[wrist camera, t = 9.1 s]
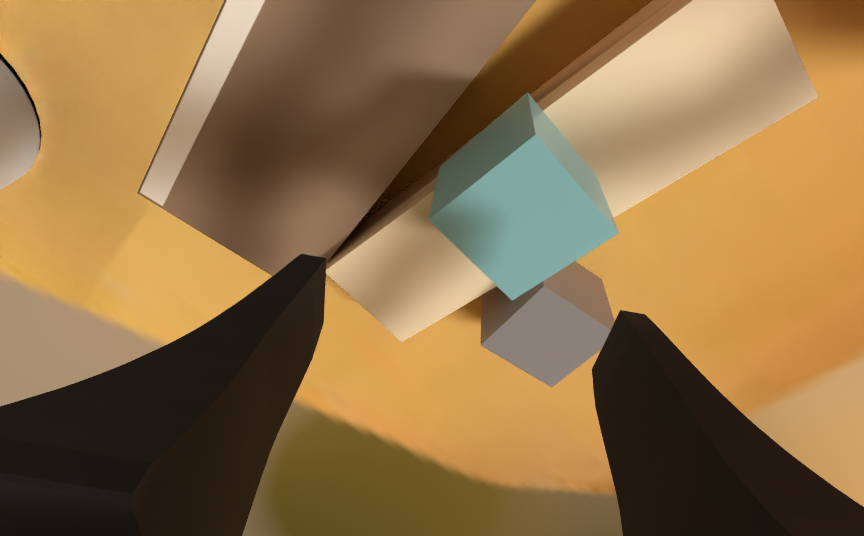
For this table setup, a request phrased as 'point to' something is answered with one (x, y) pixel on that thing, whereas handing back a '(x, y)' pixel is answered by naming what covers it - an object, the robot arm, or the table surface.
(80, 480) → the robot arm
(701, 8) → the tan tray
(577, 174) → the teal cube
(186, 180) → the dock
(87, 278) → the table surface
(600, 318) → the grey cube
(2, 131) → the milk bottle
